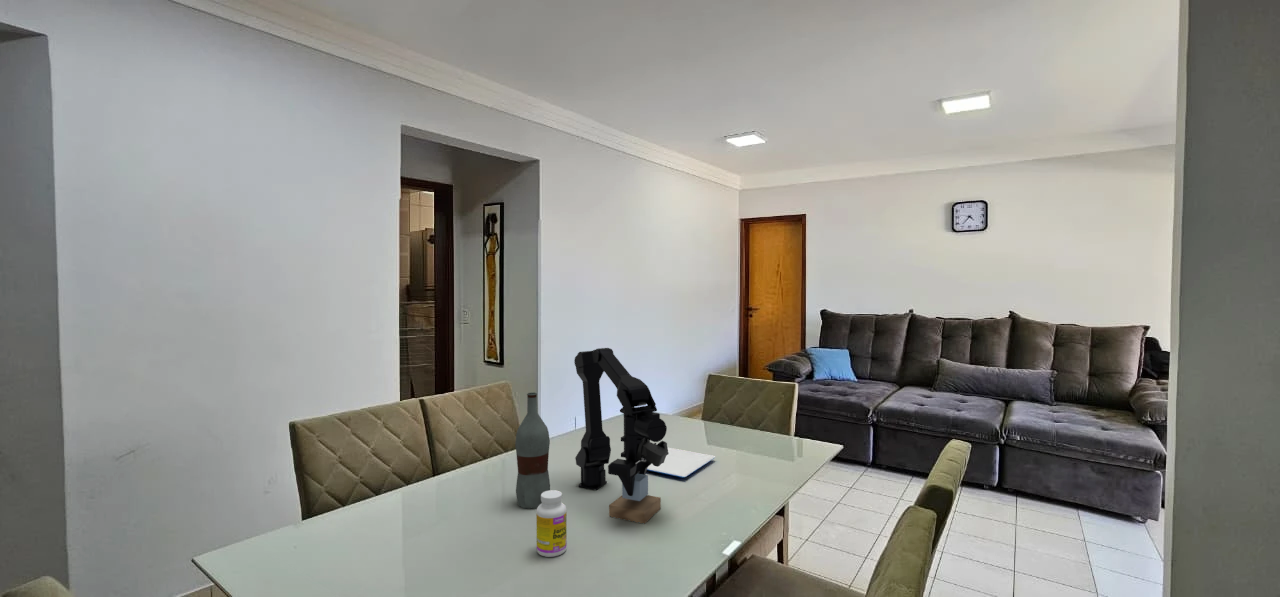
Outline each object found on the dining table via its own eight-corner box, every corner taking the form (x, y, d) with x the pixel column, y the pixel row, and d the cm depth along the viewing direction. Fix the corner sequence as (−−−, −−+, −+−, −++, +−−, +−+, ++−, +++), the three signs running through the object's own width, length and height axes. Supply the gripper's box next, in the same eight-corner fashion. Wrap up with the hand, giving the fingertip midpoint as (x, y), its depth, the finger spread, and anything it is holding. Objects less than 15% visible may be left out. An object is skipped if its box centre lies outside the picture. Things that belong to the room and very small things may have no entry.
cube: (622, 497, 141) (622, 478, 141) (631, 491, 146) (630, 472, 146) (639, 501, 139) (639, 481, 139) (648, 494, 144) (647, 475, 144)
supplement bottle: (553, 561, 118) (552, 502, 118) (530, 553, 122) (529, 496, 121) (572, 548, 124) (572, 492, 123) (550, 541, 127) (549, 486, 127)
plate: (716, 461, 183) (716, 455, 183) (684, 483, 164) (684, 476, 164) (658, 451, 195) (658, 445, 195) (622, 469, 176) (622, 463, 176)
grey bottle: (534, 493, 156) (532, 388, 155) (557, 500, 151) (556, 392, 150) (508, 504, 148) (507, 394, 147) (532, 512, 143) (531, 398, 142)
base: (609, 516, 140) (609, 505, 140) (627, 502, 149) (626, 491, 149) (644, 523, 136) (644, 511, 136) (660, 508, 145) (660, 497, 145)
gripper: (647, 446, 130) (648, 511, 131) (677, 427, 147) (677, 484, 148) (606, 440, 135) (607, 503, 136) (639, 422, 152) (639, 478, 152)
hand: (635, 492), depth 143 cm, fingers closed on cube, 5 cm apart
